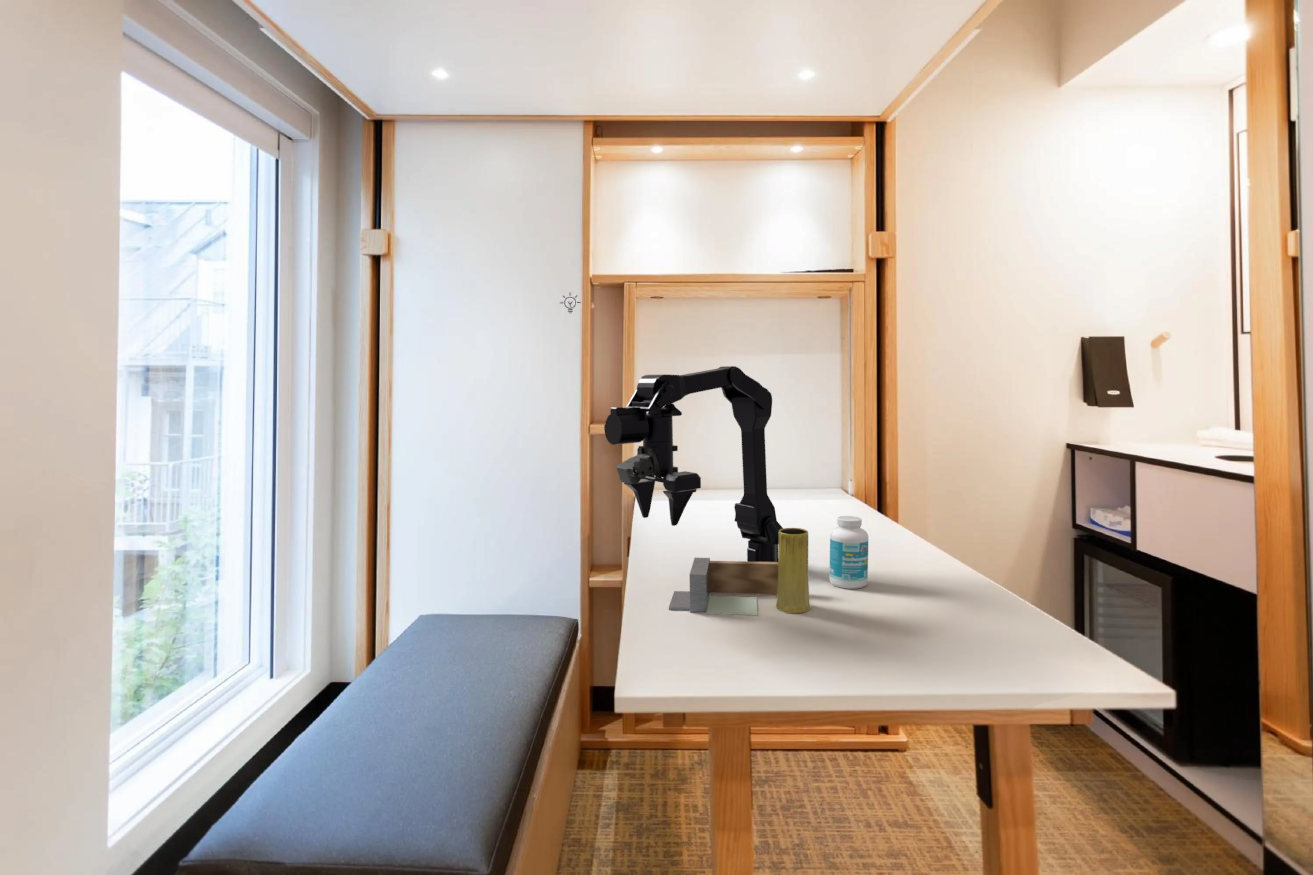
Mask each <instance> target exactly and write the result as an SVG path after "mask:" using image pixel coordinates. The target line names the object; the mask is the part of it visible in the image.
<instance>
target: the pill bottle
mask: <svg viewBox="0 0 1313 875" xmlns="http://www.w3.org/2000/svg"><path fill="white" fill-rule="evenodd" d="M862 522H863V521H862V518H860V517H858V516H854V515H852V516H851V515H841V516H838V517H837V519H836V524H837V527H834V528H833V529H832V530H831V531H830V534H829V571H828V572H829V573H828V574H829V582H830V583H831V584H832V585H833V586H835V587H838V588H841V589H852V590H853V589H854V590H855V589H862V588H864V587H866V585H868V580H869V578H868V573H869V534H868V532H867V531H866V530H865V529H863V528H862V527H861V526H862V525H863V524H862Z"/></svg>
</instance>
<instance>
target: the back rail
mask: <svg viewBox="0 0 1313 875" xmlns="http://www.w3.org/2000/svg"><path fill="white" fill-rule="evenodd" d="M777 588H778V562H747V561H742V560H738V561H737V560H710V594H740V595H741V594H742V595H749V594H750V595H775V596H777Z"/></svg>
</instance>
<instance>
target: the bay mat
mask: <svg viewBox="0 0 1313 875" xmlns="http://www.w3.org/2000/svg"><path fill="white" fill-rule="evenodd" d="M705 614H706V615H724V616H725V615H728V616H729V615H731V616H732V615H734V616H758V597H757V596H756V597H755V596H753V597H751V596H724V595H723V596H722V595H719V596H717V595H716V596H715V595H710V597H709V602H708V608H707V612H706V613H705Z"/></svg>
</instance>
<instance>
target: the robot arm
mask: <svg viewBox="0 0 1313 875" xmlns="http://www.w3.org/2000/svg"><path fill="white" fill-rule="evenodd" d="M715 389H721V391H722V394H723V397H724V398H725V400H726V401H727V400H728V402H729V403H730V404H731V410H732V415H733V418H734V419H735V421H736V423H737V425H738V426H739V429H740V432H741V433H740V434H741V435H740V436H741V453H742V454H741V455H742V456H741V458H742V476H743V477H742V479H743V480H742V481H743V482H742V483H743V496H742V497H741V499H740V501H739V503H738V502H736V503H734V508H733V509H734V512H735V513H734V514H735V515H734V517H735V518H734V522H736V526H737V528H738V529H739V531H740V534H741V537H742V539H745V540H746V539H747V548H746V550H747V551H746V554H747V556H746V557H747V558H746V560H747V562H778V551H779V530H780V529H784V528H783V526H782V525H781V524H780V523H779V522H778V519H777V515H776V514H777V513H776V509H775V505H774V504H773V502H772V500H771V499H770V497H769V495H768V488H767V486H768V483H767V457H766V455H767V454H766V434H765V429H766V427H767V424H768V422H769V420H770V419H771V417H772V408H773V395H772V393H771V391H769V389H768V388H766V387H765V386H763V385H762V384H761V383H760V382H759V381H757V380H755V379H753V378H752V377H750V376H749V375H747V374H745V372H743V370H742V369H741V368H740V367H738V366H732V365H730V366H728V365H727V366H720V367H718V368H717V367H716V368H712V369H708V370H702V371H696V372H695V371H694V372H691V373H685V374H680V375H679V374H645V375H643V376H641V377H640V378H639V381H638V382H637V386H636V389H635V391H634V393H633V394H632V396H631V398H630V399H629V401H628V403H627V405H626V406H625V407H619V406H615V407H614V406H611V407H610V409H609V410H610V414H609V415H608V416H607V418H606V420H605V423H604V426H603V429H604V435H605V438H606V441H608V443H610V444H611V445H614V446H617V445H626V444H635V443H637V444H638V443H641V442H642V445H639V446H638V448H637V450H636V451H637V454H635V455H634V456H632V457H629V458H628V459H626V460H624V461H622V462H620V463H619V464H617V465H616V466H615V468H616V471H617V474H618V476H619V480H620V482H621V483H623V485H625V486H627V487H628V488H629V489H631V491H632V492H633V494H634V496H635V498H636V501H637V504H638V507H639V510H640V513H641V517H642V518H644V519H646V518H649V515H650V511H651V506H652V501H653V495H654V489H655V485H656V484H655V483H656V482H657V483H662V485H663V487H664V489H665V490H662V492H663V494H664V495H665V496H666V498H667V499H668V506H669V517H670V524H671V526H673V527H674V526H677V525H678V524H679V523H680V522H679V521H680V519H681V518H682V517H681V516H682V515H683V513H684V510H685V508H686V506H687V504H688V503H689V501H690V499H691V497H692V496H693V495H694V494H693V493H696V492H697V490H698V489H701V488H702V477H701V476H700V475H699V474H698V472H692V471H687V470H685V471H679V466H674V452H678V451H679V450H678V445H676V444H675V445H674V437H673V436H674V435H673V433H674V432H673V431H674V430H673V429H674V428H673V427H674V424H673V422H674V421H673V417H680V416H682V415H683V413H682V411H681V410H680V409H678V408H677V407H676V405H675V404H674V403H677V402H678V401H681V400H683V399H684V397H685V396H688V395H690V394H691V395H692V394H695V393H700V392H705V391H709V390H715Z"/></svg>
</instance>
